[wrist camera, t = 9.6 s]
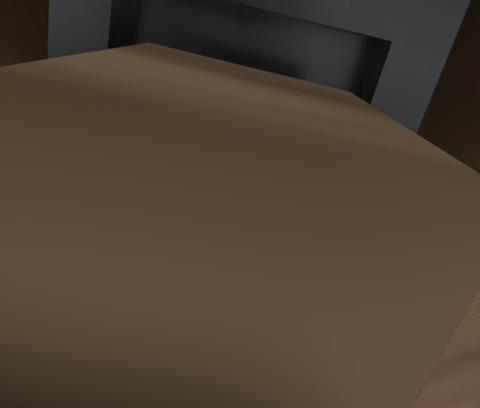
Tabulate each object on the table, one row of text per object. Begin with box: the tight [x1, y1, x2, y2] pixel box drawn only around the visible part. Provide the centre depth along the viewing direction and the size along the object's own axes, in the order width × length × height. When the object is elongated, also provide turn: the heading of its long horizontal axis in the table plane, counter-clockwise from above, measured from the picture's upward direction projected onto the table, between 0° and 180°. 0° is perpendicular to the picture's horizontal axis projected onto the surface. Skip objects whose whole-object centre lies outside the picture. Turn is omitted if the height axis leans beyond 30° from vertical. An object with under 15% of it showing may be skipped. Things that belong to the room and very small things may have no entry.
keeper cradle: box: [47, 0, 471, 134], centre depth 11 cm, size 14×8×2 cm, turn 167°
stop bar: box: [0, 43, 480, 408], centre depth 7 cm, size 10×4×5 cm, turn 167°
